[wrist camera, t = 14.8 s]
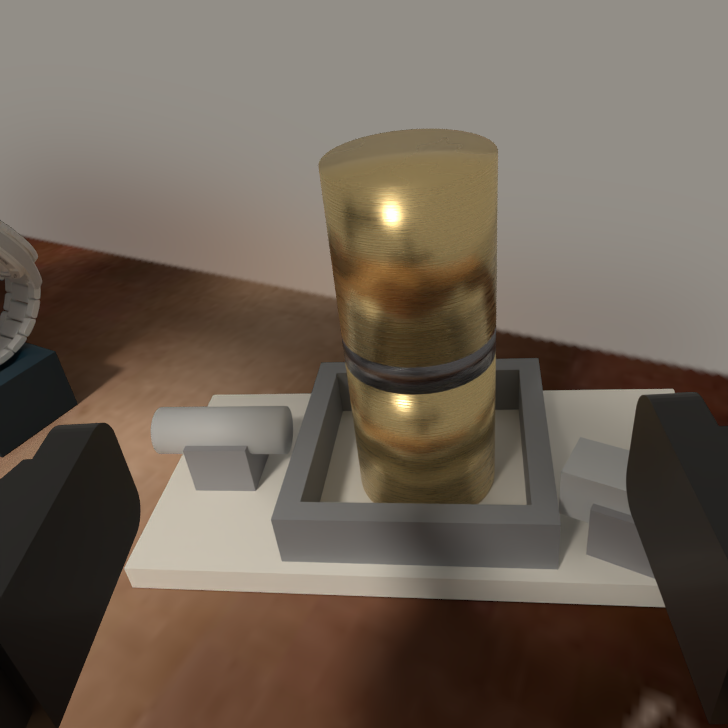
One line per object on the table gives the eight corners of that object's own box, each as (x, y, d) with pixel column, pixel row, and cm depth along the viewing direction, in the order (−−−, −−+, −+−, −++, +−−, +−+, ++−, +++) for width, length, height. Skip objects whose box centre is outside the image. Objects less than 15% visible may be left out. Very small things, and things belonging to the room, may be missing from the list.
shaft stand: (132, 588, 24) (96, 509, 22) (218, 411, 33) (198, 341, 31) (746, 611, 21) (773, 520, 19) (670, 408, 29) (682, 328, 27)
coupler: (353, 519, 25) (303, 193, 18) (368, 428, 29) (332, 134, 22) (497, 522, 24) (502, 182, 17) (492, 428, 28) (494, 123, 21)
